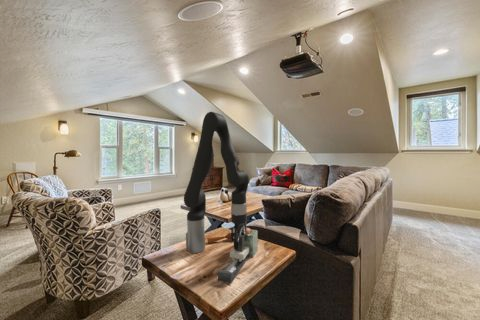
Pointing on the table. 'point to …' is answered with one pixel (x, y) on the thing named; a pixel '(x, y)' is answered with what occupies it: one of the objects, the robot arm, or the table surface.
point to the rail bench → (231, 274)
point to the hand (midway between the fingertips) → (239, 245)
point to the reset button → (247, 231)
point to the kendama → (218, 238)
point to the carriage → (240, 250)
